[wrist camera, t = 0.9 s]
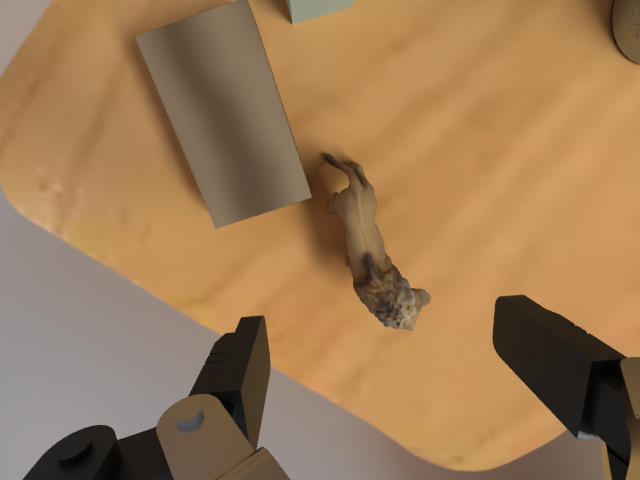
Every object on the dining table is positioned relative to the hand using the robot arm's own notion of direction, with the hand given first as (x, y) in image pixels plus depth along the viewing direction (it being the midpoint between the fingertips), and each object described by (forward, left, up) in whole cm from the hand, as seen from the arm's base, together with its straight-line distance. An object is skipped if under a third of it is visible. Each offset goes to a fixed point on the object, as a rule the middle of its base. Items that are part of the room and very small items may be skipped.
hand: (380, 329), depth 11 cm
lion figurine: (-2, +2, -20) cm, 20 cm away
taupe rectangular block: (+6, -10, -20) cm, 23 cm away
